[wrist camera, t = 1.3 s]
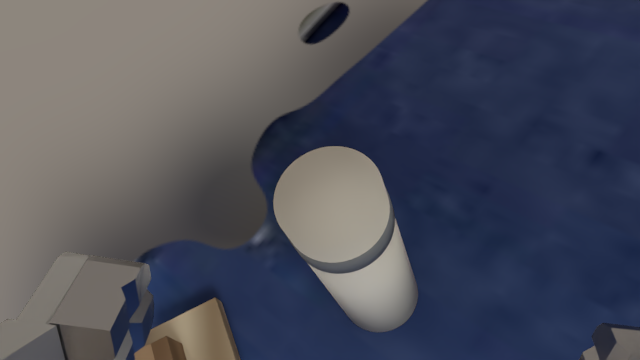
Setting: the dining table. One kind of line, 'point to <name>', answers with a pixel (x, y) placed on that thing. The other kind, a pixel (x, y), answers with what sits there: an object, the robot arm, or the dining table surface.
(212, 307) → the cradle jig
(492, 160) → the dining table surface
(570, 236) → the dining table surface
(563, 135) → the dining table surface
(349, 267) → the grooved cream capsule
